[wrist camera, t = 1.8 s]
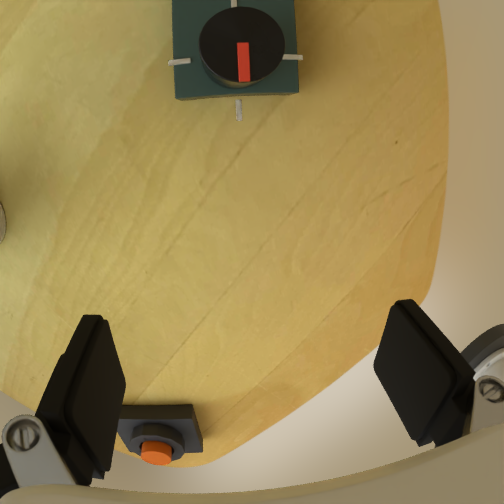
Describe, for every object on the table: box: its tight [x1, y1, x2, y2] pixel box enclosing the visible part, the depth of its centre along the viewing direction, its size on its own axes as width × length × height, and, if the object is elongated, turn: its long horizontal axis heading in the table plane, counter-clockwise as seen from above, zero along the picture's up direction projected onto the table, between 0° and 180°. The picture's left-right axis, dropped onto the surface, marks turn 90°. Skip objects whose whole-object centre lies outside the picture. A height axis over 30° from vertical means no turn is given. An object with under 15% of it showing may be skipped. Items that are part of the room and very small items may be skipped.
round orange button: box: [141, 441, 172, 465], centre depth 31 cm, size 4×4×2 cm
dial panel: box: [168, 0, 303, 121], centre depth 18 cm, size 14×9×3 cm, turn 2°
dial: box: [198, 6, 285, 89], centre depth 16 cm, size 4×4×5 cm
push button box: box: [117, 404, 203, 461], centre depth 33 cm, size 10×8×4 cm
